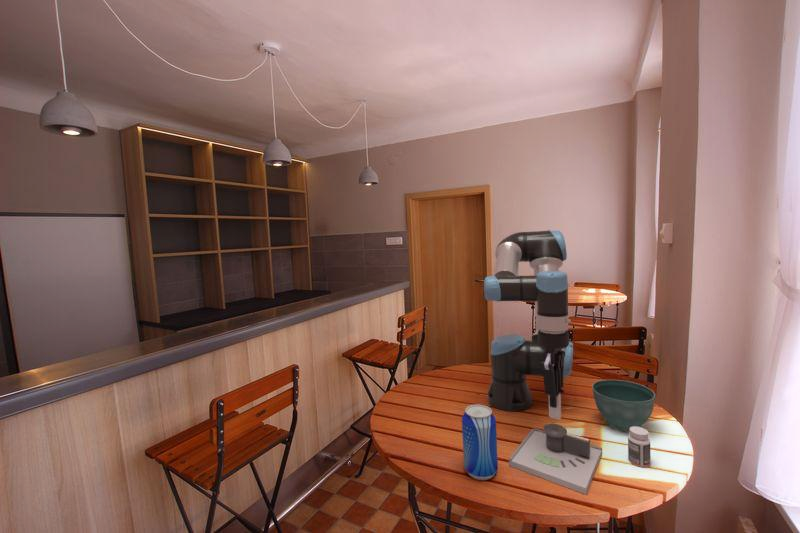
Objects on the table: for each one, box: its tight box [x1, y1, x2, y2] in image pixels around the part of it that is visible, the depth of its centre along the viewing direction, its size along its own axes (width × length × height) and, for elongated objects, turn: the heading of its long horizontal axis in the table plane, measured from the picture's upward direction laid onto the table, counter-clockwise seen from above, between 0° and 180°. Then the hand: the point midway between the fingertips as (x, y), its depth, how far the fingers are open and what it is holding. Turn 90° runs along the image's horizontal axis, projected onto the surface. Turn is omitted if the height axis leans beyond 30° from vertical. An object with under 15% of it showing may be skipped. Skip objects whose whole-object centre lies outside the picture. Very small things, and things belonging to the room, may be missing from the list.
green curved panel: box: [534, 453, 590, 468], centre depth 91 cm, size 11×9×1 cm
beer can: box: [461, 403, 499, 481], centre depth 90 cm, size 8×8×16 cm
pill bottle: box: [627, 426, 652, 468], centre depth 90 cm, size 5×5×8 cm
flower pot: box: [591, 379, 656, 433], centre depth 108 cm, size 16×16×11 cm
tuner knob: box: [543, 423, 591, 457], centre depth 94 cm, size 11×6×5 cm, turn 50°
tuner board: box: [508, 427, 603, 495], centre depth 93 cm, size 18×18×2 cm
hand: (555, 417), depth 95 cm, fingers closed
